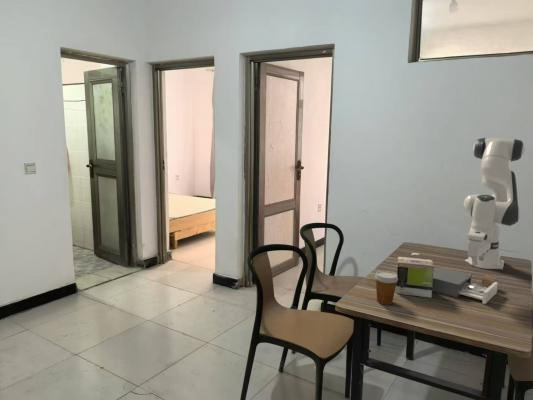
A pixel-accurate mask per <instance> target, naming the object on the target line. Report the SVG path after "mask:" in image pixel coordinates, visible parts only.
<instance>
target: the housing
mask: <svg viewBox="0 0 533 400" xmlns="http://www.w3.org/2000/svg"><path fill="white" fill-rule="evenodd" d="M472 276H473V275H472V274H471V273H467V272H462V271H458V270H453V269H450V268H445V267H441V266H439V267H437V268H435V269H434V270H433V284H432V292H436V293H439V294H443V295H447V296H451V297H454V298H457V299H458V298H459V297H460V296H461V295H462V294H459V286H460V285H462V284H463V283H464V282H466V283H470V284H472V281H473V280H472V279H473V277H472Z"/></svg>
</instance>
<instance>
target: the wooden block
mask: <svg viewBox="0 0 533 400" xmlns="http://www.w3.org/2000/svg"><path fill="white" fill-rule="evenodd" d="M497 281H498V278H497V277H494V276H489V275H483V277H482V278H481V284H480V285H482V286H483V287H486V288H488V287H490V286H491V285H492V284H493V283H494V282H497Z"/></svg>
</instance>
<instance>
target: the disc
mask: <svg viewBox="0 0 533 400" xmlns="http://www.w3.org/2000/svg"><path fill="white" fill-rule="evenodd" d="M468 290H470V291H474V292H478V293H483V292H484V287H483V286H482V285H481V284H479V283H471V284H468Z"/></svg>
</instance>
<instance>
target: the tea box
mask: <svg viewBox="0 0 533 400" xmlns="http://www.w3.org/2000/svg"><path fill="white" fill-rule="evenodd" d="M434 267H435V266H434V263H433V260H432V259H428V258H427V259H425V258H416V257H405V256H398V257H397V266H396V274H397V277H398V281H397V283H396V288H395V293H396V294H400V295H405V296H407V295H409V296H413V297H414V296H417V297H422V298H430V299H432V295H433V291H432V284H433V271H434V270H435V269H434Z"/></svg>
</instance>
